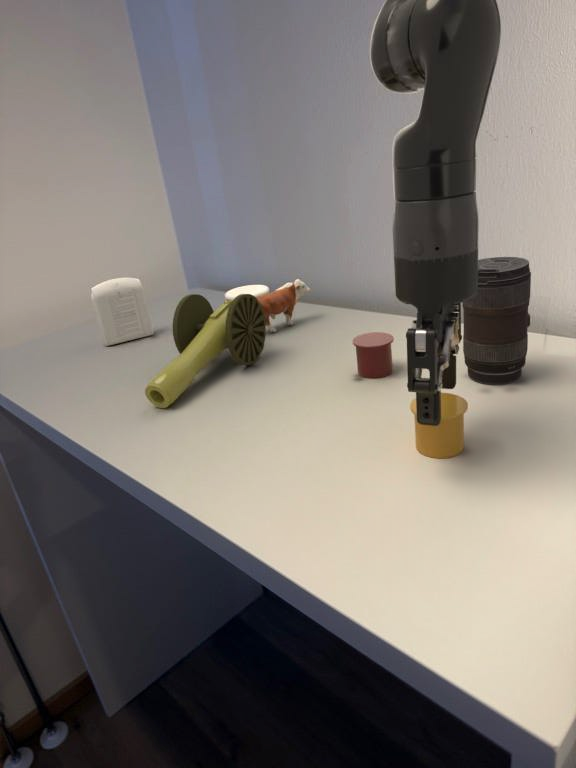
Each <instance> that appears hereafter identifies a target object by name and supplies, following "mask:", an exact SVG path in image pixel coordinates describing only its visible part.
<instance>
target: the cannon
mask: <svg viewBox="0 0 576 768" xmlns="http://www.w3.org/2000/svg"><path fill="white" fill-rule="evenodd" d="M266 333H267V326H266V323H265V316H264V312H263V309H262V306H261V304H260V302H259V301H258V300H257V298H256V297H254V296H253V295H251V294H240V295H238V296H237V297H235V298H234V300H233V301H232V300H229V299H227V300H226V299H225V300H224V302H223V303H222V304H221V305H220V306H219V307H218V308H217V309H215V310H214V309H213V307H212V305H211V303H210V301H209V300H208V299H207V298H206V297H205V296H203V295H201V294H197V293H196V294H195V293H194V294H193V293H192V294H187V295H185V296H184V297H182V298H181V299H180V301H179V302H178V304H177V305H176V307H175V310H174V314H173V318H172V336H173V341H174V344H175V347H176V350H177V351H178V353H179V355H178V356H177V357H176V358H174V359H172V360H171V361H170V362H169V363H168V364H167V365H166V366H165V367H164V368H163V369H161V371H160V372H158V373H157V374H156V376H154V378H152V379H151V381H149V382H148V383H147V386H146V387H145V389H144V391H145V392H144V394H145V397H146V398H147V400H148V401H149V402H150V403H151V404H152V405H153V406H155V407H157V408H160V409H167V408H168V407H169V406H171V405H172V404H174V402H175V401H177V400H178V398H179V397H180V396H181V395H182V394H183V393H184V391H186V389H187V388H188V387H189V386H190V385H191V384H192V383H193V382H194V380H195V378H196V377H197V375H198V374H199V373H200V372H202V371H203V370H204V369H205V368H206V367H207V366H208V365H209V364H210V363H212V362H213V360H215V359H216V358H217V357H218V356H219V355H220V354H222V352H224V351H225V350H227V349H228V352H229V354H230V356H231V358H232V359H233V360H234V361H235V363H237V364H238V365H241V366H252V365H253V364H255V363H256V362H257V361H258V360H259V359H260V357H261V354H262V353H263V350H264V346H265V342H266Z"/></svg>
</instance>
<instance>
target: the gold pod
mask: <svg viewBox="0 0 576 768" xmlns="http://www.w3.org/2000/svg"><path fill="white" fill-rule="evenodd" d="M409 409H410V412H411V413H412V414H413V415H414V417H413V418H414V433H415V434H414V436H415V438H414V439H415V448H416V450H417V452H419V454H422V455H423V456H425V457H429V458H433V459H448V458H452V457H455V456H458V455H459V454H461V452H463V451H464V449H465V414H466V413H467V411H468V409H469V403H468V401H467V400H466V399H465V398H464V397H461V396H460V395H458V394H454V393H451V392H450V393H449V392H441V421H440V424H439V425H437V426H431V425H421V424H419V423H418V422H417V409H416V397H415V398H413V399H412V401H411V402H410V405H409Z"/></svg>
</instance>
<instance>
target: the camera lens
mask: <svg viewBox="0 0 576 768" xmlns="http://www.w3.org/2000/svg"><path fill="white" fill-rule="evenodd" d="M531 284H532V272H531V269H530V261H529V260H528V259H526V258H524V257H517V256H495V257H486V258H480V259H478V290H477V293H476V295H475V296H474V297H472V298H471V299H469V300H467V301H465V302H462V303H461V307H462V310H463V311H462V312H463V314H462V315H463V335H462V352H463V358H464V365H465V366H466V367H467V375H468V377H469V378H470V379H471V380H472V381H474V382H478V383H480V384H485V385H506V384H511V383H514V382H516V381H518V380H520V378H521V376H522V368H524V366H525V365H526V360H527V353H528V345H529V344H528V343H529V335H528V328H529V327H530V326H531V315H530V313H529V306H530V301H531V300H530V299H531V286H532V285H531Z"/></svg>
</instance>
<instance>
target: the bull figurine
mask: <svg viewBox="0 0 576 768" xmlns="http://www.w3.org/2000/svg"><path fill="white" fill-rule="evenodd" d="M310 293H311V288H309V287H308V285H306V283H305V282H303V281H301V279H299V278H298V279H295V280H293V282H287V283H284V285H282V286H280V287H278V288H276V289H275V290H274V291H271V292H269V293H268V294H265V295H261V296H258V297H256V298H257V300H258V301H259V302H260V304H261V306H262V309H263V312H264V316H265V323H266V328H267V329H268V332H270V333H277V332H278V330H277V329H276V328H275V327H274V326H273V325H272V323H271V322H270V317H271V318H272V319H273V320H275V319H276V316H278V315H280V314H282V313H283V315H284V317H285V322H286V323H287V325H289V326H294V325H295V323H294V322H293V320H292V317H293V312H294V310H295V306H296V305H297V303H298V301H299V299H300V298H302V297H303V296H304V295H305V294H307V295H308V294H310Z"/></svg>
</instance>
